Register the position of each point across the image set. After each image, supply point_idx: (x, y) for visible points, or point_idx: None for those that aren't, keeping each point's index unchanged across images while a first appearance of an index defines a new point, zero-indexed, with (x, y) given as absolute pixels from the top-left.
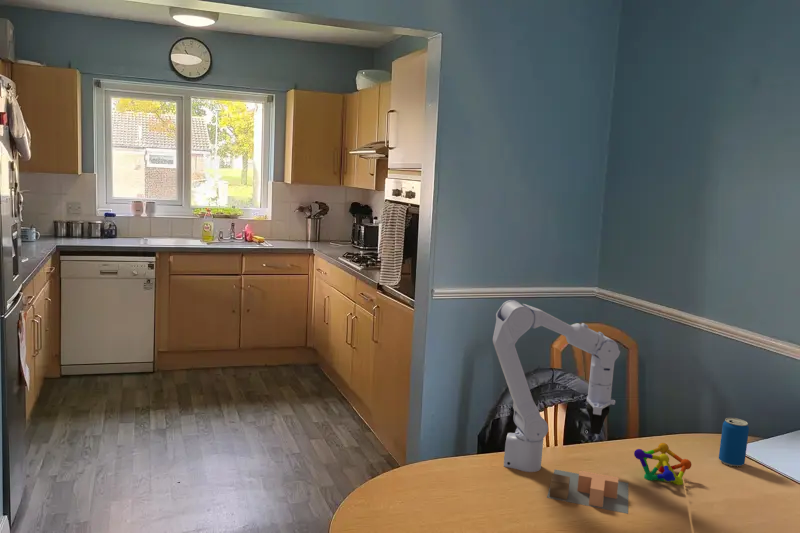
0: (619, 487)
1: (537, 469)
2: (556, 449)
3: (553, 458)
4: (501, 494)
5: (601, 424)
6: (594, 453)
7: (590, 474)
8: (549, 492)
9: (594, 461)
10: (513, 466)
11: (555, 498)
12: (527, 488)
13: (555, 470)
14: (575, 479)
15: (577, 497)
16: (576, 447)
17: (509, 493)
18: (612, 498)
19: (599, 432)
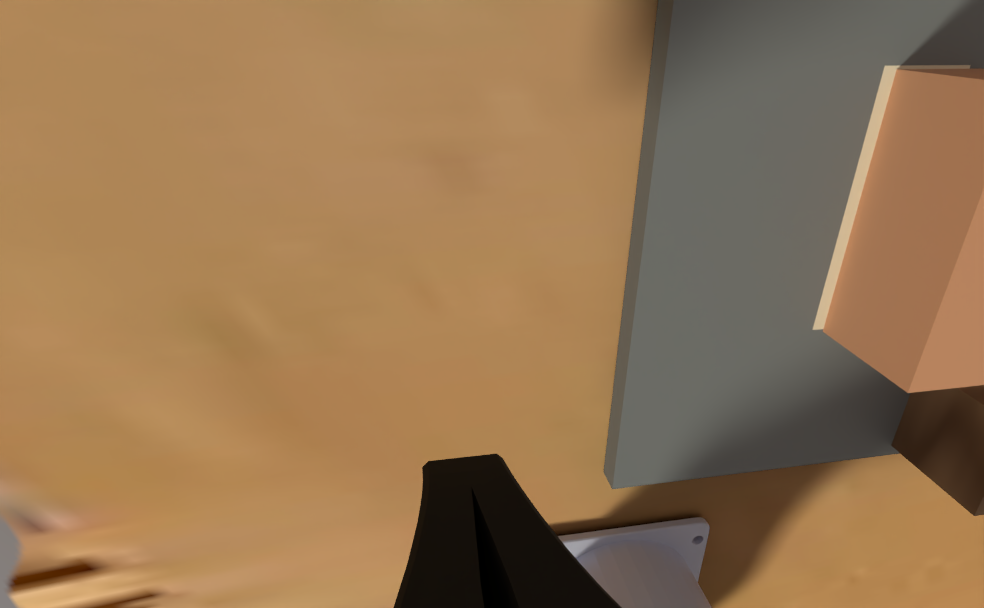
0: (786, 49)
1: (673, 559)
2: (177, 545)
3: (365, 523)
4: (908, 585)
5: (578, 577)
6: (29, 303)
7: (972, 315)
8: None
9: (236, 281)
10: None
11: None
12: (832, 526)
13: (629, 482)
14: (726, 360)
15: None
16: (5, 447)
17: (895, 566)
18: None
19: (509, 476)
